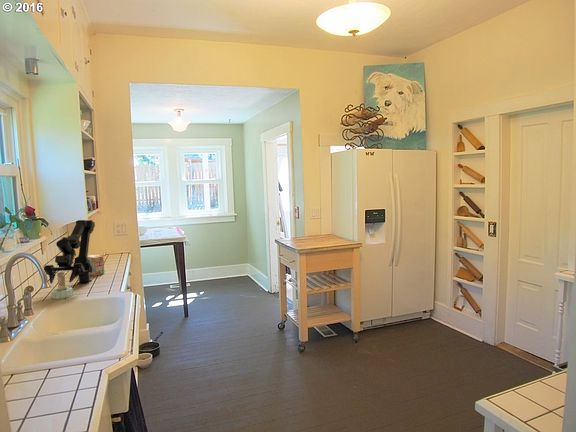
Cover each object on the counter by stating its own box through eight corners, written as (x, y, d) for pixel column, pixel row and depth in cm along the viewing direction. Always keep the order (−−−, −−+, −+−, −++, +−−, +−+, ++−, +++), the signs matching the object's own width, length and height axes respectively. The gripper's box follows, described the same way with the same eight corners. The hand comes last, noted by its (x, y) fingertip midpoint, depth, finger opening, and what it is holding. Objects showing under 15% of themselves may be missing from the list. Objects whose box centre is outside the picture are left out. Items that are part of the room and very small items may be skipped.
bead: (58, 294, 205) (57, 287, 204) (76, 293, 205) (75, 286, 205) (48, 299, 195) (47, 292, 195) (67, 298, 196) (66, 291, 196)
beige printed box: (76, 273, 258) (75, 255, 257) (85, 271, 263) (84, 253, 262) (95, 276, 247) (94, 257, 246) (104, 274, 252) (103, 255, 251)
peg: (63, 295, 202) (61, 272, 201) (67, 295, 201) (65, 272, 200) (57, 296, 199) (55, 273, 198) (62, 297, 198) (60, 273, 197)
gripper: (43, 250, 201) (34, 275, 191) (81, 248, 204) (74, 273, 194) (51, 262, 209) (43, 287, 199) (87, 260, 212) (81, 284, 202)
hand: (60, 282), depth 198 cm, fingers open, 9 cm apart
